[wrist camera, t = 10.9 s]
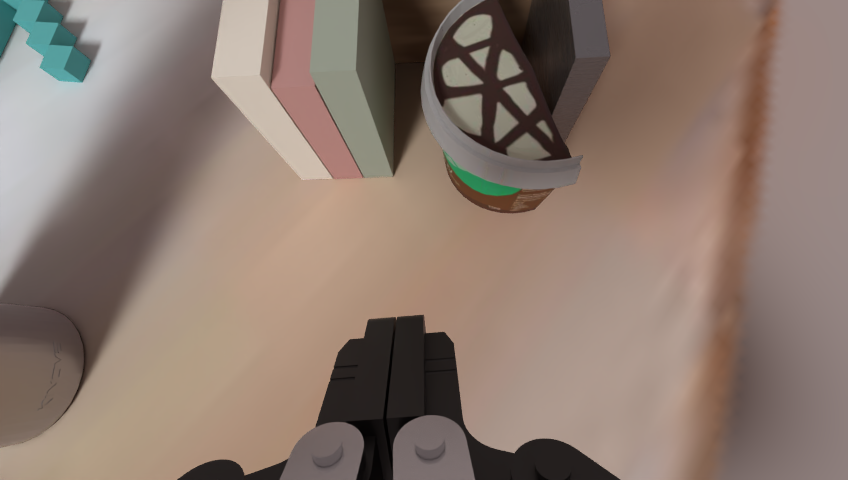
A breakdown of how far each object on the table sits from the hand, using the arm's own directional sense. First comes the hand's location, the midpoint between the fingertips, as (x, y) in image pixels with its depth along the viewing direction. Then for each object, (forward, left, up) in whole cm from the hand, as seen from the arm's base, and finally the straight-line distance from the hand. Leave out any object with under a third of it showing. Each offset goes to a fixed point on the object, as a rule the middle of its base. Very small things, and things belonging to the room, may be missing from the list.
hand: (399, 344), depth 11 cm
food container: (+3, +13, -17) cm, 21 cm away
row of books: (-6, +17, -16) cm, 25 cm away
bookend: (+8, +17, -16) cm, 25 cm away
